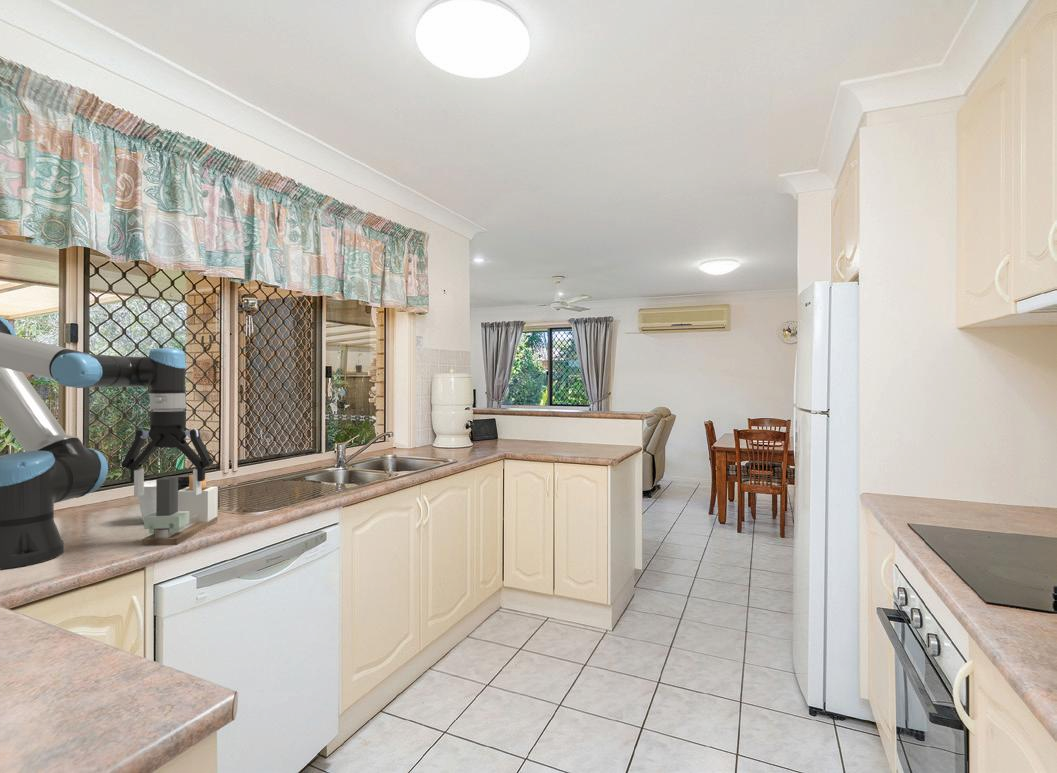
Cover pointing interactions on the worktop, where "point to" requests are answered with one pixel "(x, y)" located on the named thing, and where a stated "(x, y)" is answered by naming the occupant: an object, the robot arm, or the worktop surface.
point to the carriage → (166, 508)
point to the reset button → (203, 483)
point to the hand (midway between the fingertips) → (168, 495)
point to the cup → (148, 499)
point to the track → (177, 533)
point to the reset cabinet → (199, 503)
